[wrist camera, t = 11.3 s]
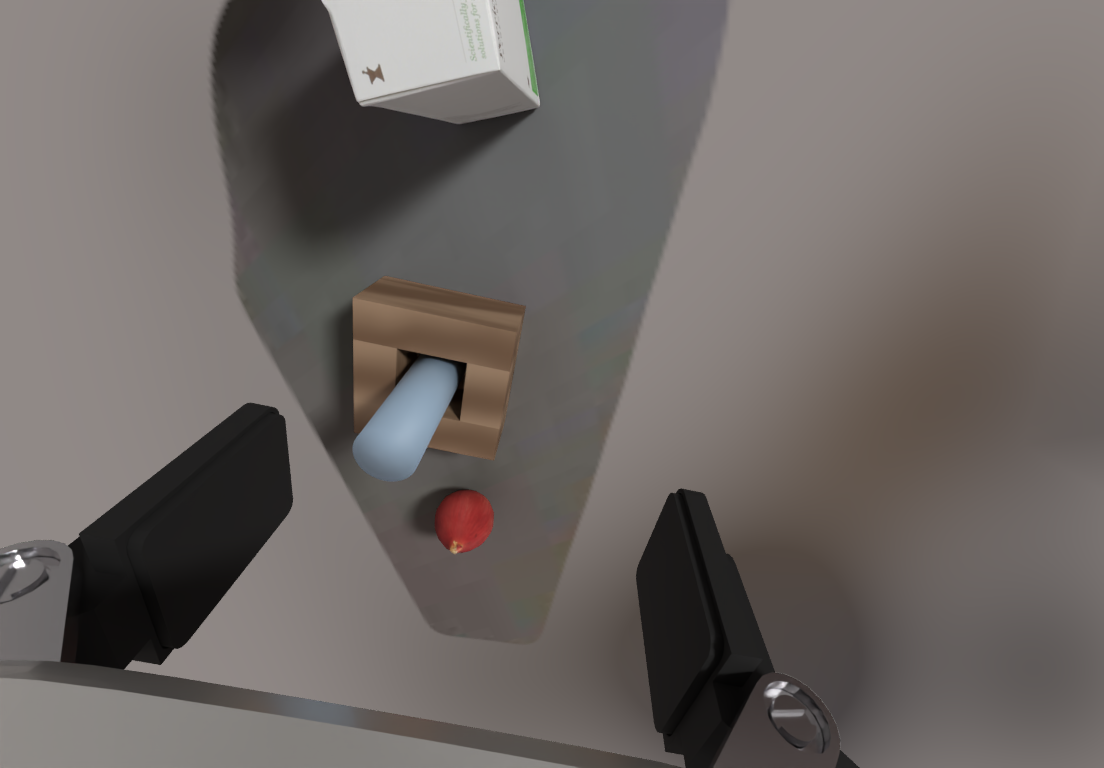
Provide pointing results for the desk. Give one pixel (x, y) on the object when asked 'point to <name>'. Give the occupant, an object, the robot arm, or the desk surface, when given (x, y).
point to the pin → (408, 419)
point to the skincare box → (438, 56)
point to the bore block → (443, 331)
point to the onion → (463, 520)
